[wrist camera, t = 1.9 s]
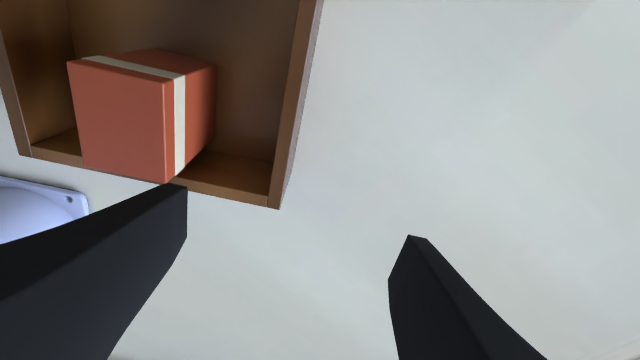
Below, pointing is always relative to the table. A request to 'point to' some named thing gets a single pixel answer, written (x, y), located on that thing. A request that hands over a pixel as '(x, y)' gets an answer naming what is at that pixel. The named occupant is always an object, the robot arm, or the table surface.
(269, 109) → the tray
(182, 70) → the rust packet
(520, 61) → the table surface
